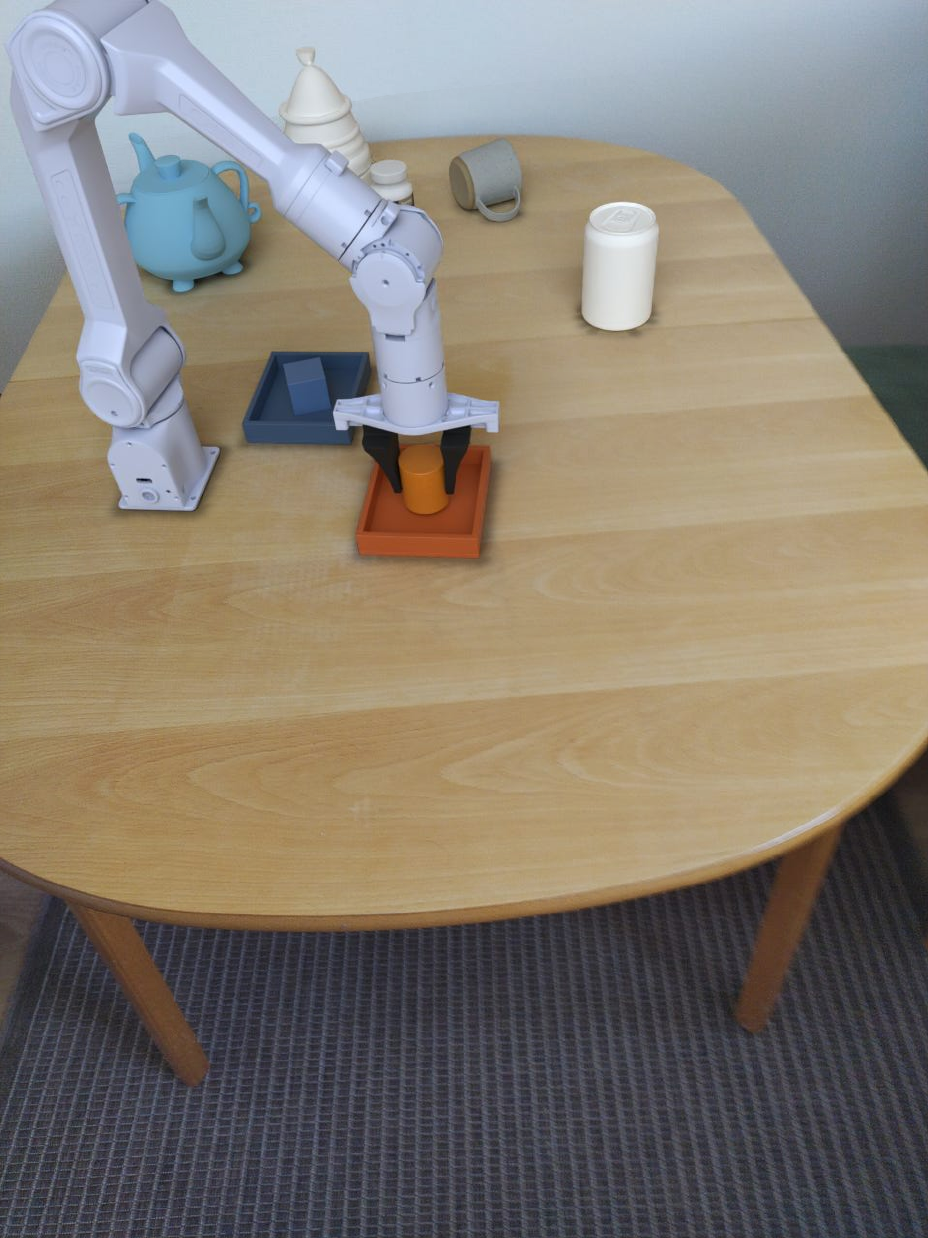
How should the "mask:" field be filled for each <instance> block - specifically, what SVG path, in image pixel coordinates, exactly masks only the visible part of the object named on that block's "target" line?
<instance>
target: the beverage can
mask: <svg viewBox="0 0 928 1238" xmlns="http://www.w3.org/2000/svg"><path fill="white" fill-rule="evenodd" d="M656 218H657V217H656V213H655V211H653V210H652V209H651V208H650V207H649V206H646V205H645V204H641V203H638V202H631V201H614V202H608V203H605V204H602V205H600V206H598V207H595V208H594V209H593V210H592V211H591V212H590V213H589V218H588V220H587V222H586V224H585V226H584V230H583V231H584V232H583V257H582V258H583V259H582V263H583V264H582V283H581V284H582V285H581V288H582V289H581V316H582V318H583V319H584V320H585V322H587V323H588V324H590V325H591V326H592V327H595V328H597V329H600V330H605V331H613V332H621V331H627V330H628V331H629V330H632V329H635V328H638V327H639V326H642V325H643V324H644V323H646V322H647V321H648V320H649V319H650V317H651V315H652V309H653V297H654V287H655V279H656V278H655V276H656V268H657V257H658V256H657V255H658V246H659V236H660V227H659V224H658V222H657V220H656Z"/></svg>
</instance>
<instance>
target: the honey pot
mask: <svg viewBox="0 0 928 1238" xmlns="http://www.w3.org/2000/svg"><path fill="white" fill-rule="evenodd" d="M295 56H296V58H297V60H298V62H299V63H300V64H301V65H302V66H304V67H303V68H302V69H301V70H300V71H299V72H298V74H297V76H296V78H295V80H294V82H293V85H292V88H291V91H290V95H289V97H288V98H287V99H286V100H284V101H283V102H282V103H281V104H280V105H279V108H278V114H279V117H280V118H281V120H283V121H284V130H282V131H283V132H284V133H285V134H286V135H287V136H288V137H289V138H290V139H291V140H292V141H293V142H294V143H298V144H308V143H318V144H321V145H323V146H324V147H325V148H326V149H327V150H328V151H329V152H331V153H333V152H334V151H335V150H337V151H338V152H340V153H341V154H342V155H343V156H344V157H345V158H346V159H348V161H349V164H348V165H347V167H348V168H349V169H350V170H352V171H353V172H354V173H355V174H356V175H357V176H359V177H360V178H361V179H362V180H363V181H364V182H365V183H367V184H368V185H369V186H371V185H372V183H373V181H372V179H371V176H370V167H371V166H372V165H373V163H372V157H371V156H372V155H371V150H370V147H369V144H368V143H367V142H366V141H365V138H364V135H363V133H362V131H361V129H360V125H359V122H357V120H356V119H355V117H354V115H353V112H352V111H351V109H352V107H353V103H352V100H351V98H350V97H349V96H347V95H346V94H344V93H341V91H340V89H339V88H338V86H337V85H336V83H335V82H334V80H332V78H331V77H330V76H329V75H328V73H327V72H325V71H324V70H323V69H322V68H321V67H319V66H317V65H314V62H315V59H316V49H315V47H313V46H303V47H299V48H297V49H295Z"/></svg>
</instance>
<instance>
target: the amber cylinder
mask: <svg viewBox="0 0 928 1238" xmlns="http://www.w3.org/2000/svg"><path fill="white" fill-rule="evenodd" d="M435 445H436V444H432V443H416V445H413V446H410V447H408V448H406V449H405V450H404V451H403V452H402V453H401V454H400V456H399V458H398V464H399V471H400V478H401V485H402V491H403V498H404V503H405V506H406V507H407V508H408V509H409V510H410V511H412V512H414V513H418V514H432V513H436V512H438V511H440V510H442V509H443V508H444V507H445V506H446V505H447V504H448V502H449V498H450V496H449V494H446V490H445V468H444V463H443V458H442V454H441V451H440V448H439V447H437V446H435Z"/></svg>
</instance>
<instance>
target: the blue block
mask: <svg viewBox="0 0 928 1238" xmlns="http://www.w3.org/2000/svg"><path fill="white" fill-rule="evenodd" d="M283 366H284V371H285V375H286V380H287V385H288V389H289V393H290V397H291V401H292V406H293V410H294V414H295V416H297V415H302V414H307V413H312V412H317V411H323V410H328V409H331V403H330V398H329V394H328V389H327V384H326V379H325V375H324V371H323V367H322V363H321V360H320V357H318V358H313V359H308V360H302V361H297V362H292V363H287V364H283Z"/></svg>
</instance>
